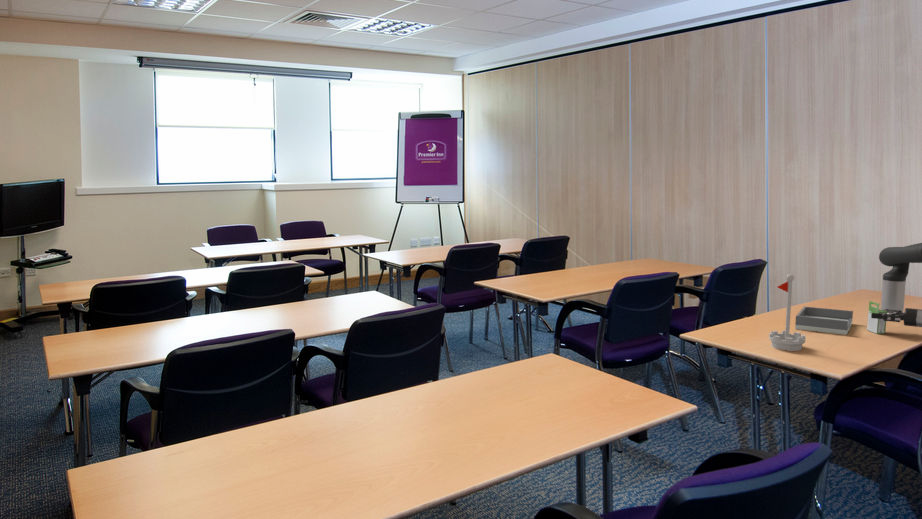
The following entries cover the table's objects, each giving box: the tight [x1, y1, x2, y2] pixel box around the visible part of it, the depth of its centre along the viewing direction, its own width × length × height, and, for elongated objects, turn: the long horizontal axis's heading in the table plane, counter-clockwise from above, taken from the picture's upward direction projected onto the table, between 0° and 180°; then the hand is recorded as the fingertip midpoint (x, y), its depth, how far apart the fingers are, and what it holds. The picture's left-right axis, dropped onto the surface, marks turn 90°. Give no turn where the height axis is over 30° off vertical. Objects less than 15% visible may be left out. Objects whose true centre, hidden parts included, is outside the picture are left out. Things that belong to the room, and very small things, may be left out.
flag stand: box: [768, 273, 806, 352], centre depth 256 cm, size 13×13×30 cm
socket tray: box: [794, 306, 854, 336], centre depth 290 cm, size 24×20×6 cm
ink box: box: [866, 300, 887, 335], centre depth 278 cm, size 7×4×13 cm, turn 179°
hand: (872, 313), depth 279 cm, fingers closed on ink box, 8 cm apart
